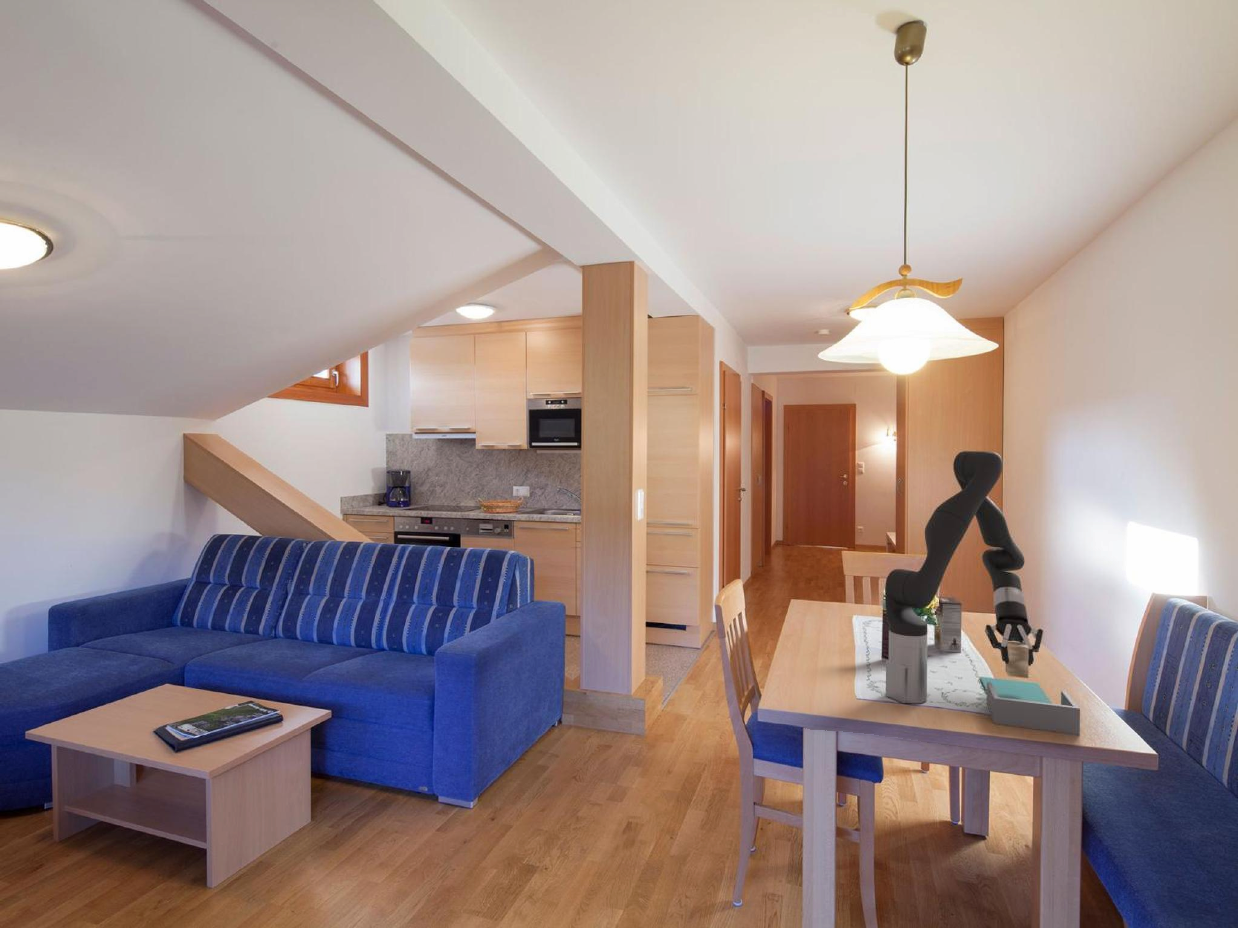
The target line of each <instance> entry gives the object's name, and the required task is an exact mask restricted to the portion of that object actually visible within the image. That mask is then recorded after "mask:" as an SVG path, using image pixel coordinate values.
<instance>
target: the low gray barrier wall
mask: <svg viewBox="0 0 1238 928" xmlns="http://www.w3.org/2000/svg"><path fill="white" fill-rule="evenodd" d="M986 705H987V706H986V708H987V707H988V708H987V710H988V712H990V713H989V714H990V717H991V719H992V721H993V723H994V725H995V724H996V725H1002V726H1010V727H1017V728H1023V729H1024V728H1026V729H1033V730H1039V731H1048V732H1054V731H1055V733H1060V734H1061V733H1064V734H1068V735H1069V734H1070V735H1076V734H1079V735H1078V736H1080V735H1081V708H1080V707H1079V705H1078V704H1077V703H1076V702H1075V700H1074V699H1073V698H1072V696H1071V695H1070V694H1069V693H1068V692H1067V690H1060V704H1057V703H1052V704H1050V703H1042V702H1034V701H1025V700H1017V699H1009V698H1000V697H998V695H997V693H996V691H995V689H994V687H993V685H992V683H990V682H987V692H986Z"/></svg>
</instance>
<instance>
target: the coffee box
mask: <svg viewBox="0 0 1238 928" xmlns="http://www.w3.org/2000/svg"><path fill="white" fill-rule="evenodd" d="M937 597H938V598H939V606H938V607H937V609H936V611H935V612H934V611H933V612H934V613H935V615H936V618H937V621H938V626H934V625H933V626H934V627H933V630H934V631H933V633H934V634H933V635H934V636H933V637H934V639H933V641H934V642H933V643H934V645H935V647H936V648H938V650H939V651H940V650H941V651H940V652H943V653H944V652H945V653H948V652H949V653H962V615H963V612H962V611H963V606H962V605H963V604H962V603H961V602H960V601H959V600H958V599H957V598H955V597H947V596H945V597H943V596H937Z"/></svg>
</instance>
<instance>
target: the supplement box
mask: <svg viewBox="0 0 1238 928" xmlns="http://www.w3.org/2000/svg"><path fill="white" fill-rule="evenodd" d="M913 611H914V610H913ZM914 612H915V611H914ZM915 613H916V612H915ZM881 618H882V619H881V620H882V621H881V625H882V627H881V628H882V629H881V660H882V661H884V662H885V663H886V660H888V659H889V624H888V621H887V617H886V608H885V609H884V608H883V609H882V617H881Z"/></svg>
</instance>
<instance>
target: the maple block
mask: <svg viewBox="0 0 1238 928" xmlns="http://www.w3.org/2000/svg"><path fill="white" fill-rule="evenodd" d="M1006 648H1007V650H1008V657H1009V662H1008V664H1005V672H1006V674H1007V676H1008V677H1013V678H1023V679H1029V666H1028V659H1029V648H1028V646H1027V645H1026V644H1024V643H1020V642H1016V641H1008V642H1007V645H1006Z"/></svg>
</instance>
